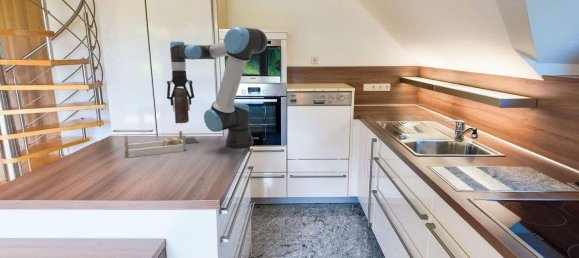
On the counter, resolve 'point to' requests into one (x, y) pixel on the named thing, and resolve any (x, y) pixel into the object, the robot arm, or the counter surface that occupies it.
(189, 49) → the robot arm
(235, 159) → the counter surface
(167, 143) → the offcut upper
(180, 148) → the rack
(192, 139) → the mat
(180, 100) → the rusty brown cylinder
